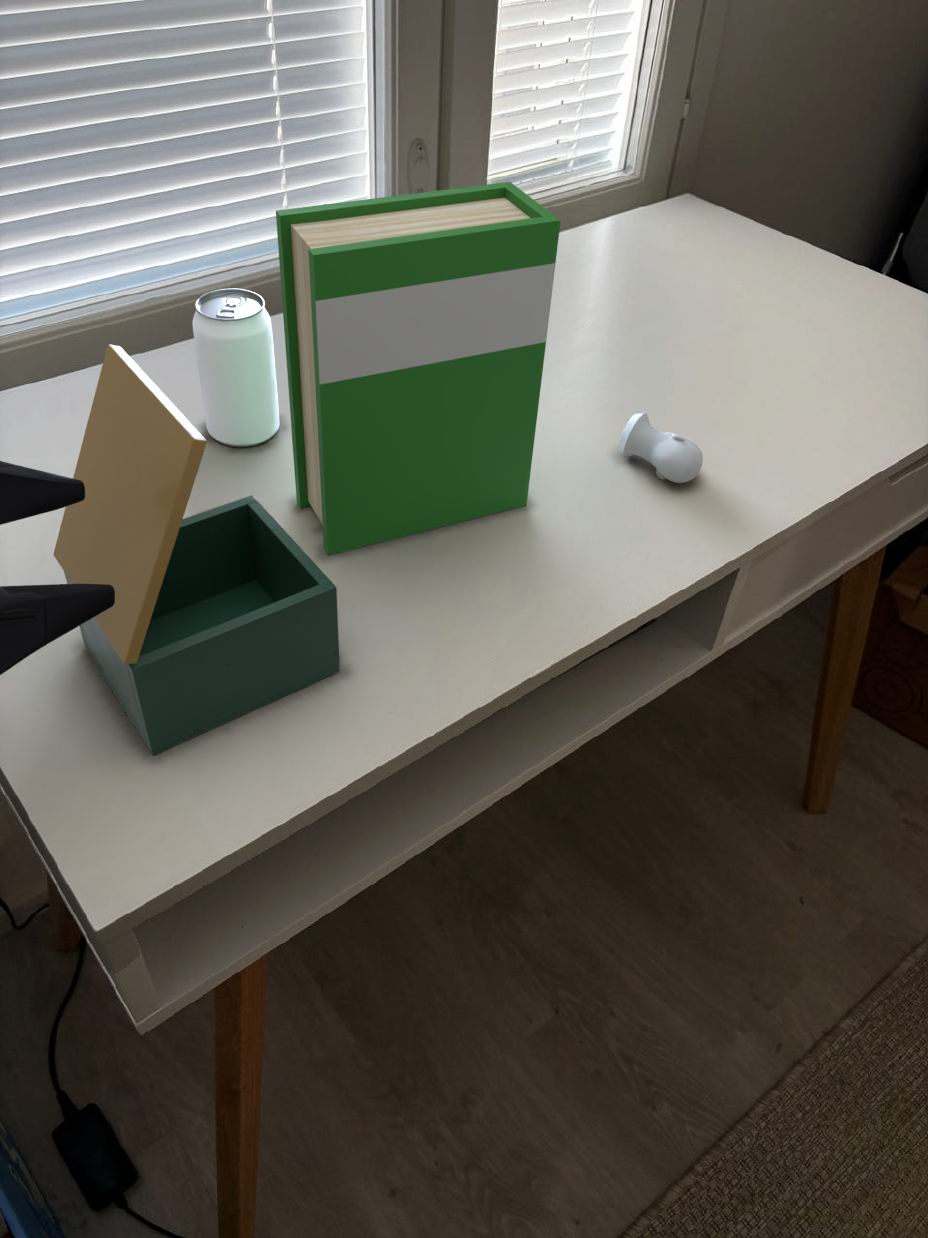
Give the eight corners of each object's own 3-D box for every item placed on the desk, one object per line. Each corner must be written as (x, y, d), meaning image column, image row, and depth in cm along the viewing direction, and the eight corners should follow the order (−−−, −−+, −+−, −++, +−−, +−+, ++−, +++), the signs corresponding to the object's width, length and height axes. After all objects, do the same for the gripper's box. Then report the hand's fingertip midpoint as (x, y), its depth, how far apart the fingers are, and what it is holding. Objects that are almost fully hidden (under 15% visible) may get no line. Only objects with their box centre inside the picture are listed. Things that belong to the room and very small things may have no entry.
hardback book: (327, 555, 79) (313, 254, 62) (296, 502, 83) (275, 210, 67) (526, 505, 85) (560, 220, 69) (486, 458, 90) (510, 181, 73)
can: (287, 413, 93) (278, 289, 85) (270, 452, 88) (258, 325, 80) (218, 406, 93) (202, 282, 85) (197, 444, 89) (178, 317, 81)
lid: (120, 345, 59) (107, 343, 58) (208, 440, 52) (194, 439, 51) (65, 554, 65) (52, 554, 64) (136, 664, 58) (123, 664, 58)
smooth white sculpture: (703, 491, 90) (670, 496, 86) (639, 448, 94) (605, 450, 91) (725, 448, 88) (691, 451, 84) (658, 405, 92) (623, 406, 88)
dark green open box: (261, 578, 76) (252, 494, 71) (340, 671, 70) (336, 586, 64) (84, 646, 70) (60, 560, 65) (152, 756, 63) (131, 669, 58)
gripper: (-339, 546, 35) (134, 514, 41) (-292, 306, 47) (66, 313, 54) (-262, 764, 41) (132, 706, 48) (-239, 506, 54) (73, 489, 60)
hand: (98, 539), depth 52 cm, fingers open, 9 cm apart
